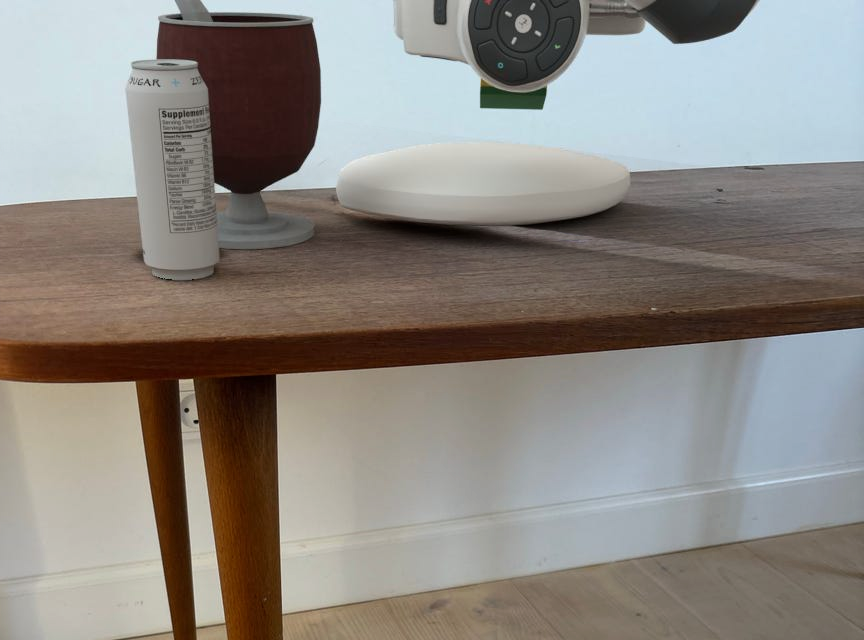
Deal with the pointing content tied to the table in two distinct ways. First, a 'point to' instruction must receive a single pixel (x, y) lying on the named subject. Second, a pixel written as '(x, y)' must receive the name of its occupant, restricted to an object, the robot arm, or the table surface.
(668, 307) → the table surface
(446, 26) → the robot arm
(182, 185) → the energy drink can
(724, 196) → the table surface
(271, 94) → the mate gourd
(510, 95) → the dish wand
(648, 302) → the table surface
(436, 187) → the plate
